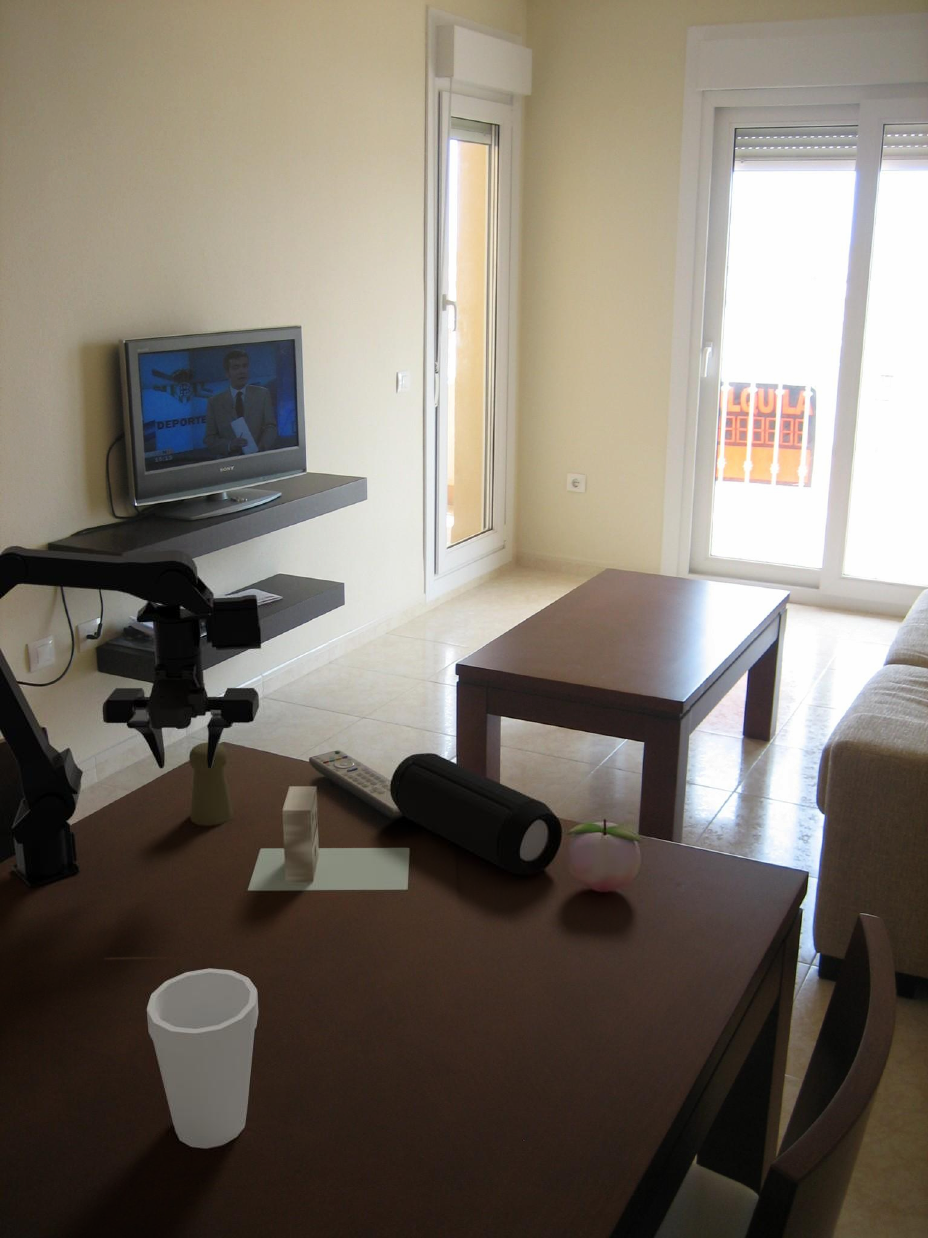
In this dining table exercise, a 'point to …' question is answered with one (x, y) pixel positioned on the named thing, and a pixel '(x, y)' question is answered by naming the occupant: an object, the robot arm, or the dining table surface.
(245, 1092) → the foam cup
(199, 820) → the cork
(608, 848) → the decorative fruit
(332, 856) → the plate
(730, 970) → the dining table surface
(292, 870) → the domino
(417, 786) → the portable speaker
